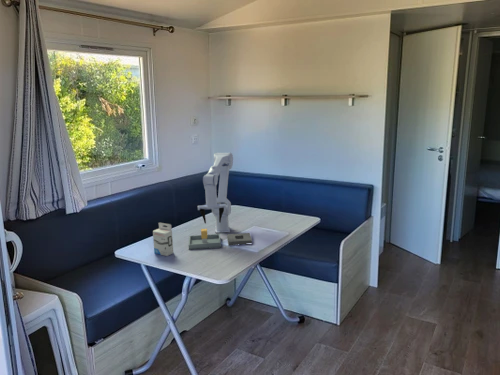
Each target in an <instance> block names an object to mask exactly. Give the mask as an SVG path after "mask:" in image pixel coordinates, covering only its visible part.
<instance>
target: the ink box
mask: <svg viewBox="0 0 500 375" xmlns="http://www.w3.org/2000/svg"><path fill="white" fill-rule="evenodd" d="M172 229H173V228H172V224H171V223H164V222H158V228H156V229H154V230H152V239H153V252H154V254H155V255H160V256H165V257H169V256H171V255H172V254H174V241H173V230H172Z"/></svg>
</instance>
